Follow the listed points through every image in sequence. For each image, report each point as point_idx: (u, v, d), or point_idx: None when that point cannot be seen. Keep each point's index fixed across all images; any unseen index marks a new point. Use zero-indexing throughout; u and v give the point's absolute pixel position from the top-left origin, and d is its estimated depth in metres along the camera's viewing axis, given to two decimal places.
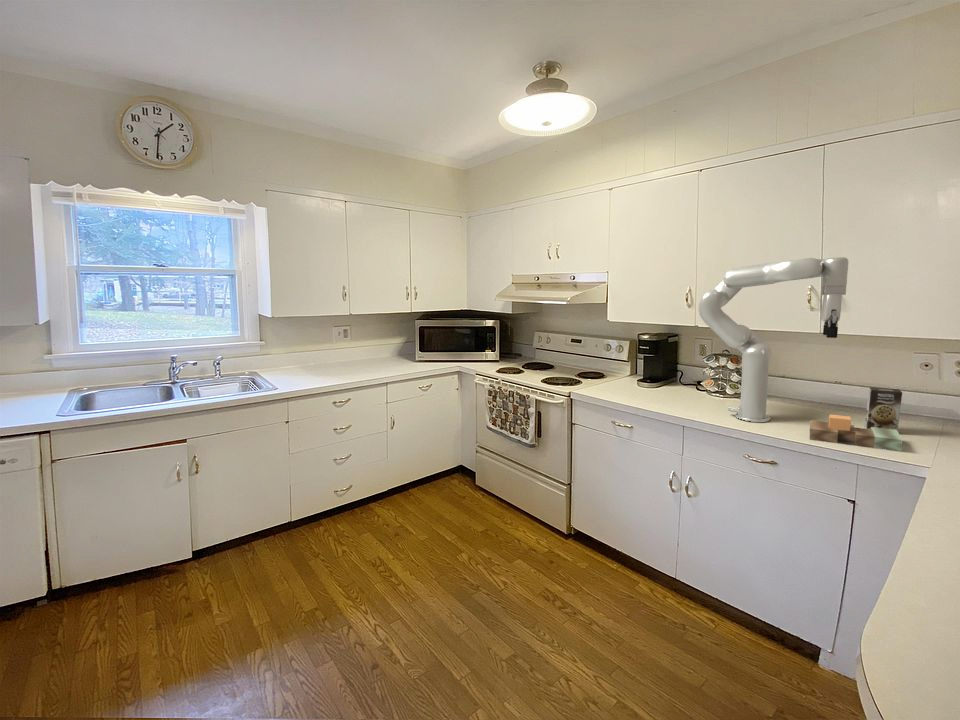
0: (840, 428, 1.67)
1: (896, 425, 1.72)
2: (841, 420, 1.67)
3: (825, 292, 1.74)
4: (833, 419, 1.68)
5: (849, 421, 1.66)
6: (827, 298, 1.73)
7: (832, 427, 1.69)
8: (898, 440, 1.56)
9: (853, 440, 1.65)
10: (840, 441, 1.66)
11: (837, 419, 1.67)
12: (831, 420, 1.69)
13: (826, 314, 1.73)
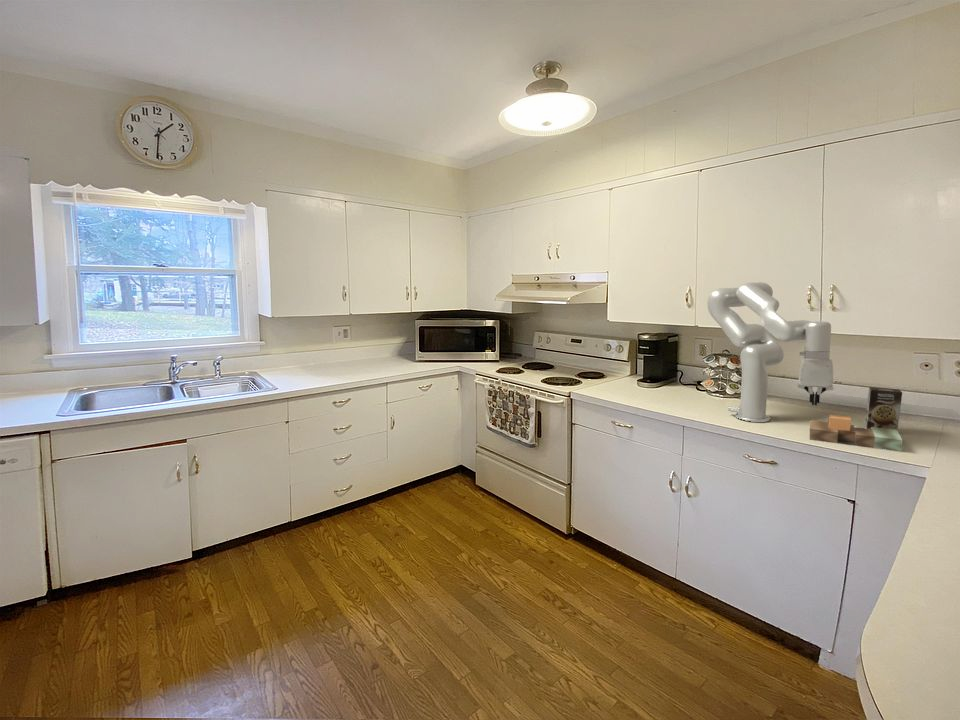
0: (840, 428, 1.67)
1: (896, 425, 1.72)
2: (841, 420, 1.67)
3: (825, 357, 1.67)
4: (833, 419, 1.68)
5: (849, 421, 1.66)
6: (831, 363, 1.66)
7: (832, 427, 1.69)
8: (898, 440, 1.56)
9: (853, 440, 1.65)
10: (840, 441, 1.66)
11: (837, 419, 1.67)
12: (831, 420, 1.69)
13: (832, 380, 1.67)
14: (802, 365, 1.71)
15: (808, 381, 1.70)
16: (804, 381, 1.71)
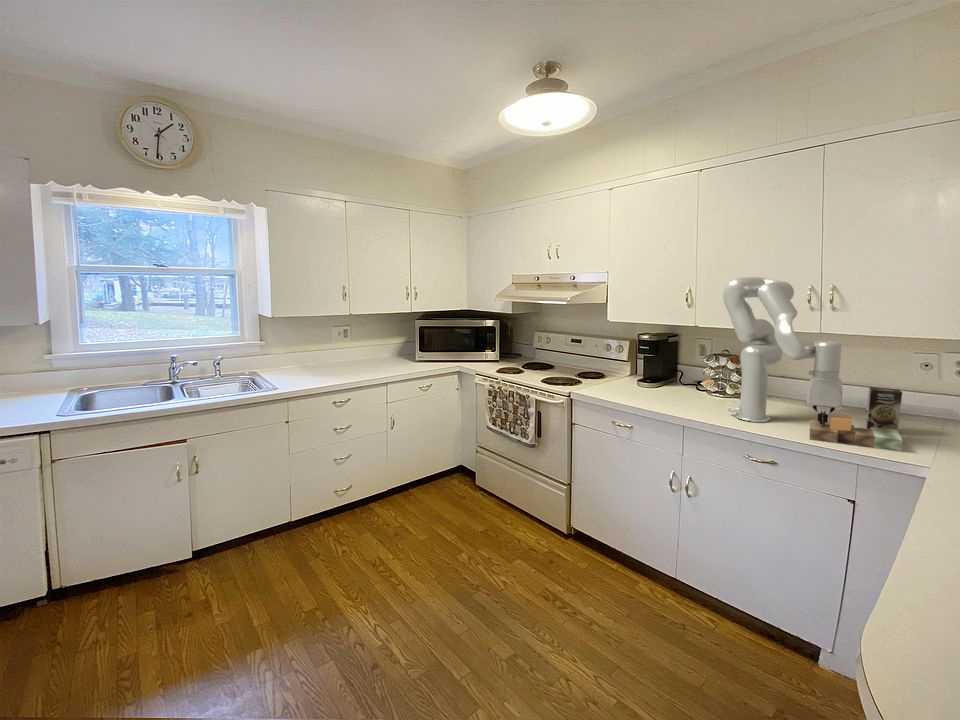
0: (841, 428, 1.67)
1: (896, 425, 1.72)
2: (842, 420, 1.67)
3: (835, 377, 1.66)
4: (834, 419, 1.68)
5: (850, 421, 1.65)
6: (840, 384, 1.66)
7: (833, 427, 1.69)
8: (898, 440, 1.56)
9: (853, 440, 1.65)
10: (840, 441, 1.66)
11: (838, 419, 1.67)
12: (832, 420, 1.68)
13: (841, 400, 1.66)
14: (811, 384, 1.71)
15: (817, 400, 1.70)
16: (813, 400, 1.71)
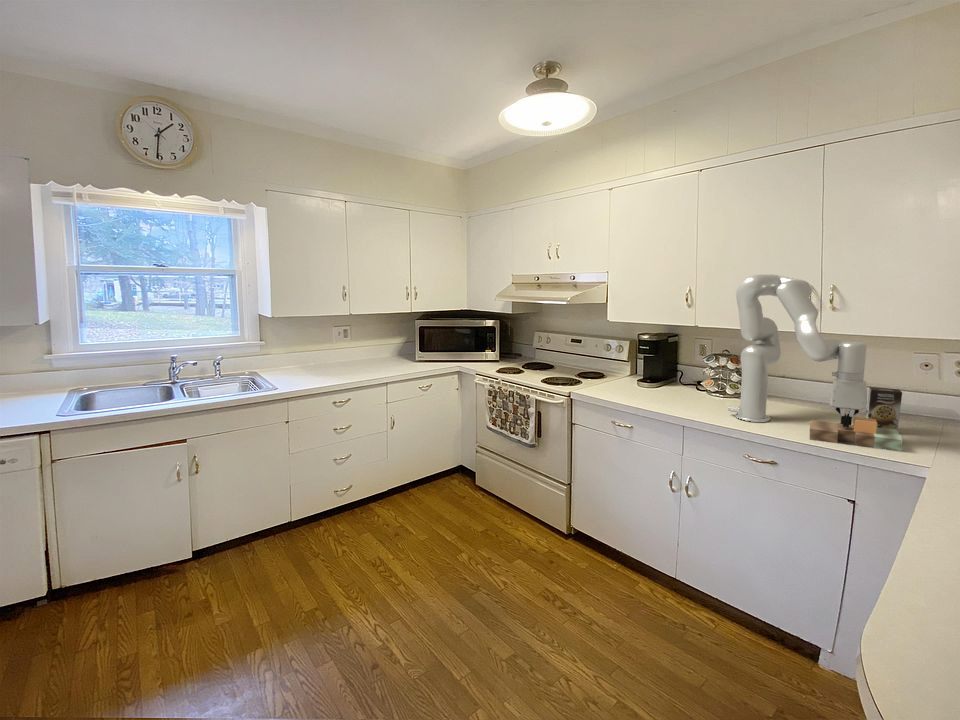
0: (865, 431, 1.63)
1: (896, 425, 1.72)
2: (867, 423, 1.63)
3: (860, 379, 1.62)
4: (858, 422, 1.64)
5: (875, 424, 1.61)
6: (865, 385, 1.62)
7: (857, 430, 1.65)
8: (898, 440, 1.56)
9: (853, 440, 1.65)
10: (840, 441, 1.66)
11: (862, 422, 1.63)
12: (856, 423, 1.65)
13: None
14: (834, 386, 1.67)
15: (840, 403, 1.66)
16: (836, 402, 1.67)
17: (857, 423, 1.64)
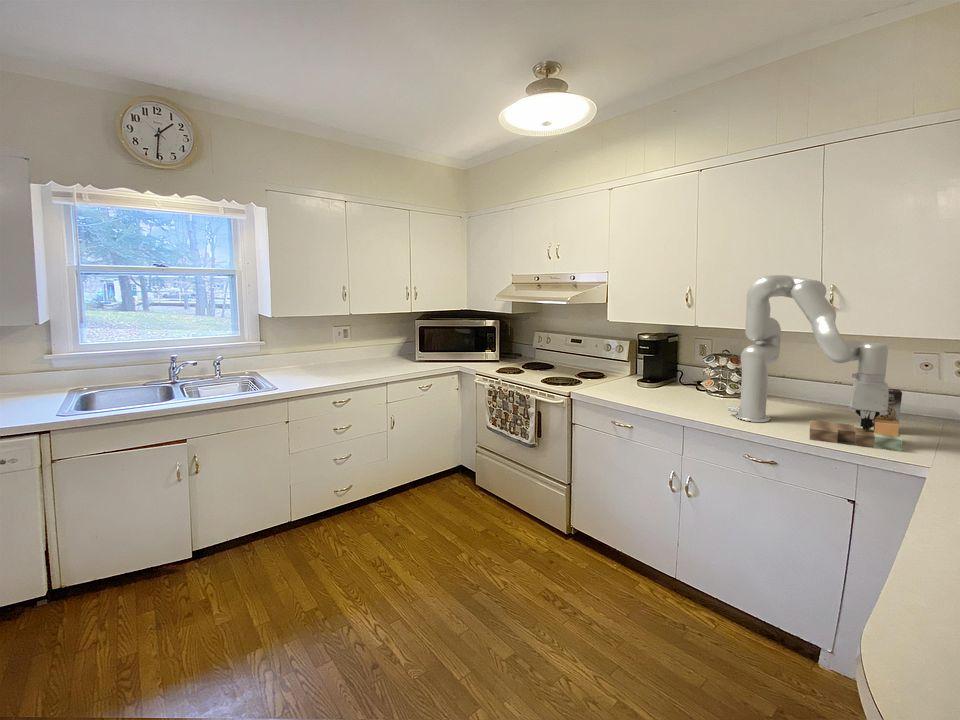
0: (887, 434, 1.60)
1: None
2: (888, 425, 1.59)
3: (881, 381, 1.59)
4: (879, 424, 1.61)
5: (897, 426, 1.58)
6: (886, 387, 1.59)
7: (878, 432, 1.61)
8: (898, 440, 1.56)
9: (853, 440, 1.65)
10: (840, 441, 1.66)
11: (883, 424, 1.60)
12: (877, 425, 1.61)
13: (887, 404, 1.59)
14: (855, 388, 1.63)
15: (861, 405, 1.63)
16: (856, 405, 1.63)
17: (878, 425, 1.61)
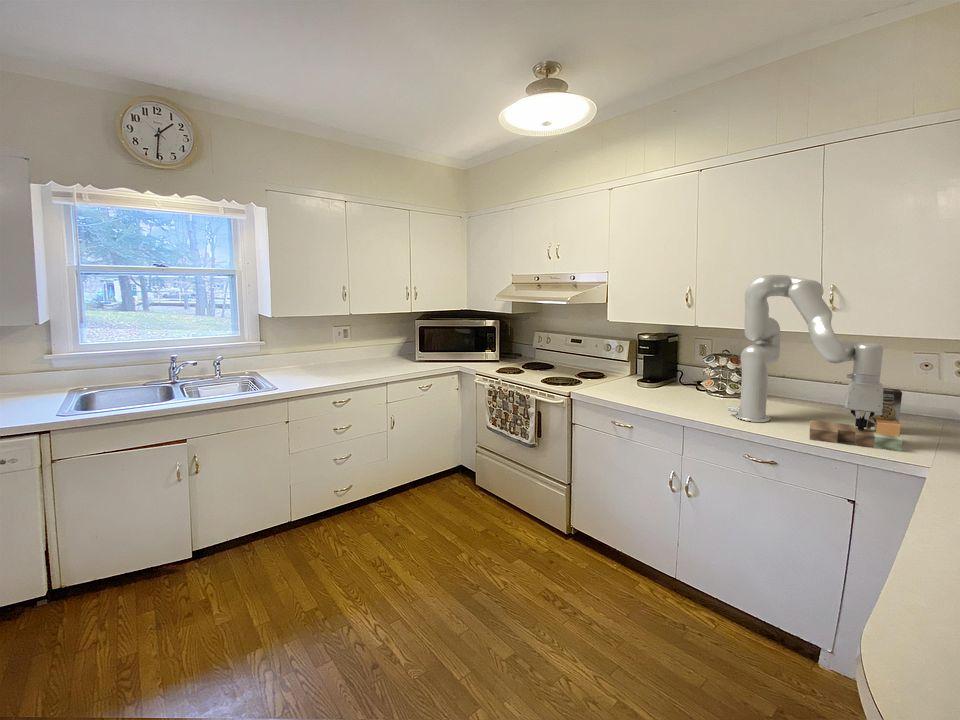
0: (888, 434, 1.60)
1: None
2: (890, 425, 1.59)
3: (876, 381, 1.60)
4: (881, 424, 1.61)
5: (898, 427, 1.58)
6: (881, 388, 1.59)
7: (880, 433, 1.61)
8: (898, 440, 1.56)
9: (853, 440, 1.65)
10: (840, 441, 1.66)
11: (885, 424, 1.60)
12: (879, 425, 1.61)
13: (882, 405, 1.60)
14: (850, 388, 1.64)
15: (856, 405, 1.64)
16: (851, 405, 1.64)
17: (880, 426, 1.61)
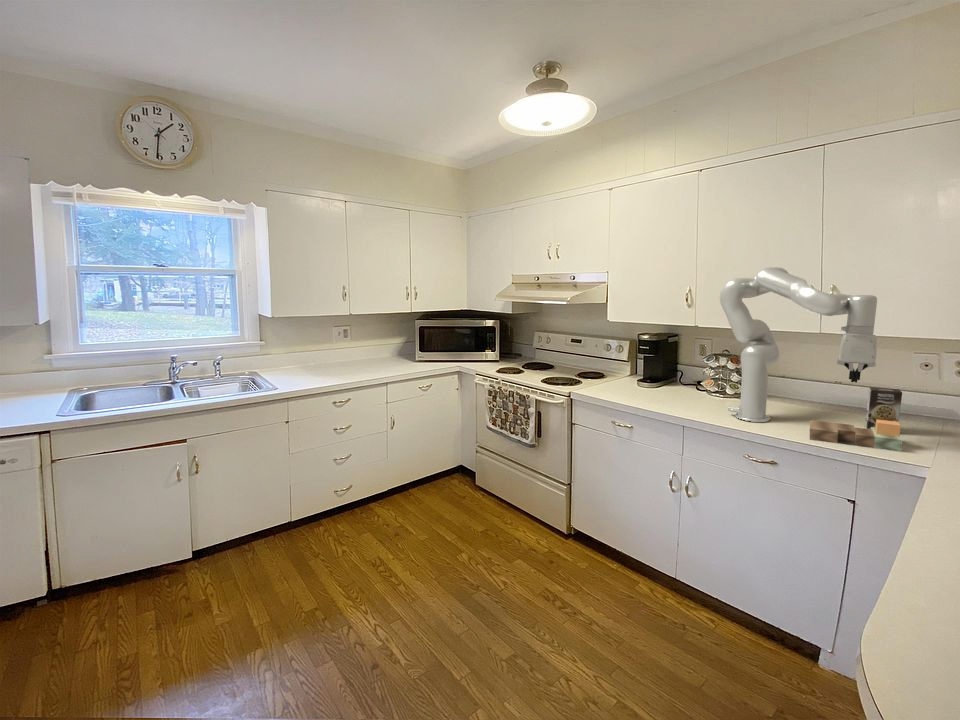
0: (888, 434, 1.60)
1: None
2: (890, 425, 1.59)
3: (869, 332, 1.60)
4: (881, 424, 1.61)
5: (898, 427, 1.58)
6: (875, 339, 1.60)
7: (880, 433, 1.61)
8: (898, 440, 1.56)
9: (853, 440, 1.65)
10: (840, 441, 1.66)
11: (885, 424, 1.60)
12: (879, 425, 1.61)
13: (875, 356, 1.60)
14: (843, 340, 1.64)
15: (849, 357, 1.64)
16: (845, 357, 1.65)
17: (880, 426, 1.61)
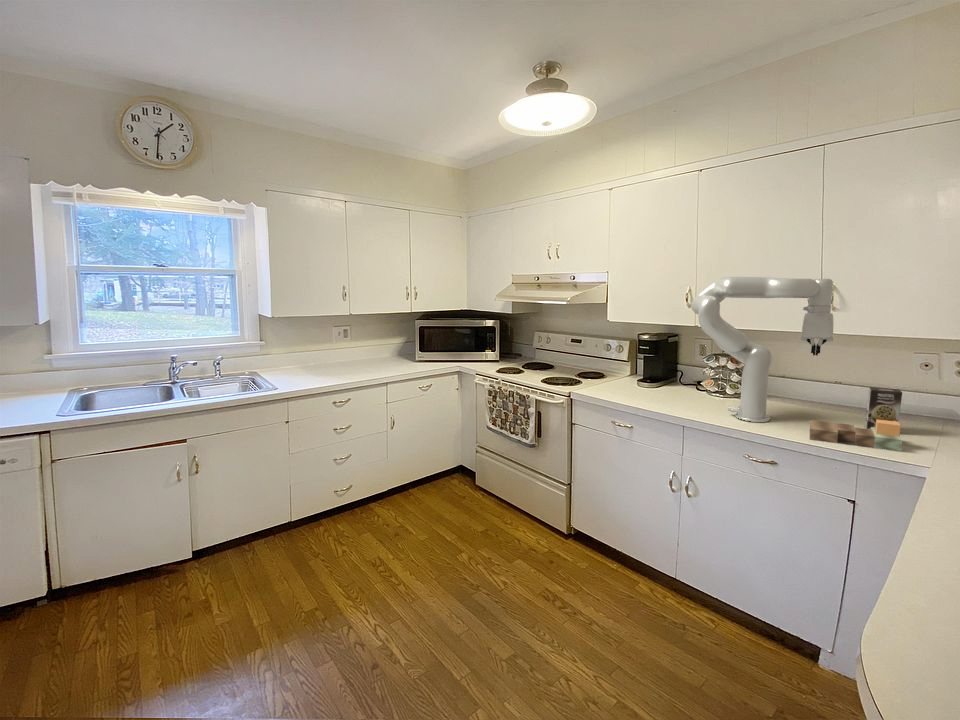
0: (888, 434, 1.60)
1: None
2: (890, 425, 1.59)
3: (827, 311, 1.83)
4: (881, 424, 1.61)
5: (898, 427, 1.58)
6: (831, 316, 1.83)
7: (880, 433, 1.61)
8: (898, 440, 1.56)
9: (853, 440, 1.65)
10: (840, 441, 1.66)
11: (885, 424, 1.60)
12: (879, 425, 1.61)
13: (832, 331, 1.84)
14: (805, 319, 1.88)
15: (810, 333, 1.87)
16: (807, 333, 1.88)
17: (880, 426, 1.61)
